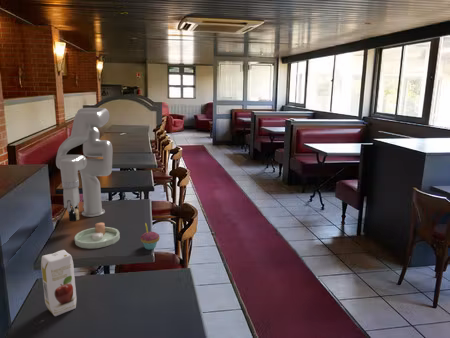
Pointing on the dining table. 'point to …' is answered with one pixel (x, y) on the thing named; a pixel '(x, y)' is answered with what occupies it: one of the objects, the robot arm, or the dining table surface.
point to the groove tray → (97, 238)
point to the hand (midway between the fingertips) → (74, 218)
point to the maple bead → (76, 213)
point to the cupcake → (149, 239)
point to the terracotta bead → (100, 228)
